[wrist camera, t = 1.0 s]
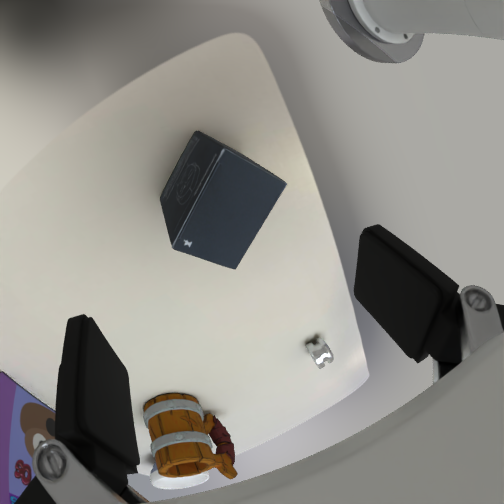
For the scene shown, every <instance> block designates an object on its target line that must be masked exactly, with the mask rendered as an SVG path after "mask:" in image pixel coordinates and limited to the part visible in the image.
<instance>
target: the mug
mask: <svg viewBox="0 0 504 504" xmlns="http://www.w3.org/2000/svg"><path fill="white" fill-rule="evenodd" d="M143 418H144V422H145V425H146V427H147V428H148V429H149V433H150V436H151V440H152V443H151V451H152V455H153V457H154V458H155V460H156V466H157V469H158V473H159V474H160V475H161V476H164V477H169V478H177V477H188V476H194V475H198V474H201V473H202V472H205V471H207V470H210V469H212V468H214V467H215V468H217V469H218V470H219V471H220V473H222V474H223V475H224V476H226V477H227V478H229V479H233V478H235V477H236V476H237V472H236V470H235V469H234V467H233V464H234V462H235V452H234V444H233V443H232V442H231V439H230V437H231V436H230V434H229V433H228V432H227V430H226V428H225V427H224V426H223V425H222V424H221V423H220V421H219V420H218V419H217V418H216V417H215V415H214V416H213V415H212V414H210V413H208V414H205V415H203V411H202V408H201V406H200V405H199V403H198V401H197V400H196V398H194V397H192V396H190V395H186V394H183V395H181V394H179V393H167V394H163V395H160V396H157V397H156V399H154V398H153V399H152V400H149V401H148V402H147V403H146V404H145V407H144V413H143ZM208 434H209V435H210V437H211V439H212V441H213V442H214V443H215V444H216V446H217V448H216V454H213V453H212V450H211V449H212V443H211V440H210V437H209V436H208Z"/></svg>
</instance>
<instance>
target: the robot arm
mask: <svg viewBox="0 0 504 504" xmlns="http://www.w3.org/2000/svg"><path fill="white" fill-rule="evenodd" d="M348 1H349V4H350V7H351V9H352V11H353V13H354V15H355V17H356V18H357V20H358V21H359V23H360V24H361V25H362V26H363V27H364V28H365V30H366V31H367V32H369V33H370V34H371V35H372V36H373V37H375V38H377V39H378V40H380V41H382V42H385V43H389V44H401V43H405V42H407V41H409V40H410V39H411V38H412V37H413V35H414V33H440V34H457V35H469V36H478V37H486V38H494V39H500V40H504V0H348ZM357 260H358V261H357V269H356V277H355V285H354V295H355V297H356V299H357V300H358V301H359V302H360V303H361V304H362V306H363V307H364V308H365V309H366V310H367V311H368V312H369V313H370V314H371V315H372V316H373V318H374V319H375V320H376V321H377V322H378V323H379V324H380V325H381V326H382V328H383V329H384V330H385V331H386V332H387V333H388V334H389V335H390V337H391V338H392V339H393V340H394V341H395V342H396V343H397V345H398V346H399V347H400V348H401V349H402V350H403V351H404V353H405V354H406V355H407V356H408V357H410V358H413V359H414V360H415V361H416V362H417V363H419V362H421V361H422V360H424V359H425V358H427V357H428V355H429V354H430V355H431V357H432V358H433V385H432V386H431V387H429V388H428V389H426V390H425V391H423V392H422V393H421V394H419V395H418V396H417V397H415V398H414V399H412V400H411V401H409V402H408V403H406V404H405V405H403V406H402V407H400V408H398V409H397V410H396V411H394V412H392V413H391V414H389V415H388V416H386V417H384V418H382V419H381V420H379V421H378V422H376V423H374V424H372V425H371V426H369V427H367V428H365V429H364V430H362V431H360V432H358V433H356V434H354V435H353V436H351V437H349V438H347V439H345V440H343V441H341V442H339V443H337V444H335V445H333V446H331V447H329V448H327V449H325V450H323V451H320V452H318V453H316V454H314V455H311V456H309V457H307V458H305V459H302V460H300V461H297V462H295V463H293V464H290V465H287V466H285V467H282V468H280V469H277V470H275V471H272V472H269V473H266V474H263V475H260V476H258V477H254V478H251V479H248V480H245V481H242V482H239V483H235V484H232V485H228V486H225V487H221V488H217V489H213V490H209V491H205V492H201V493H196V494H192V495H188V496H183V497H178V498H172V499H167V500H161V501H155V502H149V501H148V500H147V499H145V498H144V497H143V496H142V495H140V494H139V493H138V492H137V491H135V490H134V489H133V488H132V487H131V486H129V485H128V479H127V474H134V473H138V471H137V466H136V465H139V464H140V458H139V452H138V447H137V441H136V434H135V428H134V421H133V413H132V405H131V396H130V386H129V376H128V372H127V370H126V368H125V366H124V365H123V363H122V362H121V360H120V359H119V358H118V356H117V355H116V353H115V352H114V350H113V349H112V347H111V346H110V344H109V343H108V341H107V340H106V338H105V337H104V335H103V334H102V332H101V331H100V329H99V327H98V326H97V324H96V323H95V321H94V320H93V318H92V317H89V318H88V317H87V316H86V315H85V314H83V315H79V316H76V317H72V318H69V319H68V321H67V327H66V333H65V339H64V346H63V353H62V361H61V364H60V367H59V373H58V383H57V395H56V411H55V439H48V440H45V441H43V442H41V443H40V444H39V445H38V446H37V448H36V449H35V451H34V454H33V457H32V466H33V470H34V472H35V474H36V475H35V477H34V478H33V479H32V481H31V482H30V483H29V484H28V486H27V487H26V488H25V490H24V491H23V492H22V494H21V495H20V496H19V498H18V499H17V500H16V502H15V503H14V504H504V305H500V304H495V301H494V299H493V297H492V295H491V294H490V293H489V292H488V291H486V290H485V289H483V288H481V287H478V286H475V285H471V286H466V287H465V288H463V289H462V291H461V293H460V294H459V293H458V292H457V290H458V288H459V285H458V284H457V283H455V282H454V281H453V280H452V279H451V278H449V277H448V276H447V275H446V274H445V273H443V272H442V271H441V270H439V269H438V268H437V267H436V266H434V265H433V264H432V263H430V262H429V261H428V260H427V259H425V258H424V257H423V256H422V255H420V254H419V253H418V252H416V251H415V250H414V249H413V248H411V247H410V246H409V245H407V244H406V243H404V242H403V241H402V240H400V239H399V238H398V237H396V236H395V235H393V234H392V233H391V232H389V231H388V230H386V229H385V228H384V227H382V226H381V225H378V224H377V225H374V226H370V227H367V228H365V229H364V230H363V232H362V234H361V235H360V240H359V250H358V259H357Z"/></svg>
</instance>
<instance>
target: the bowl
mask: <svg viewBox="0 0 504 504" xmlns="http://www.w3.org/2000/svg"><path fill="white" fill-rule="evenodd" d="M208 479H209V473H208V470H207V471H205V472H202V473H201V474H198V475H194V476H188V477H177V478H169V477H164V476H161V475H160V474H159V473H158V469H157V466H156V462H155V463H154V465H153V469H152V470H151V474H150V480H151V483H152V485H153V486H154V487H157V488H161V489H180V488H187V487H192V486H195V485H199V484H201V483H203V482H205V481H207V480H208Z"/></svg>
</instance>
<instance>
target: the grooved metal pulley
mask: <svg viewBox="0 0 504 504" xmlns="http://www.w3.org/2000/svg"><path fill="white" fill-rule="evenodd" d="M306 347H307V350H308V352H309V354H310V355H311V357H312V359H313V361H314V362H315V364H316V365H317V367H318V368H319V369H321V368H323V367H325V364H324V362H325V361H328V363H331V362H332V361H333V359H334V357H333V354H332V352H331V350H330V348H329V346H328V345H327V343H326V342H325V341H324V340H323V339H322V338H317V339H316V344H314V345H313V344H312V343H311V342H310V343H308V344H307V345H306Z"/></svg>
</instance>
